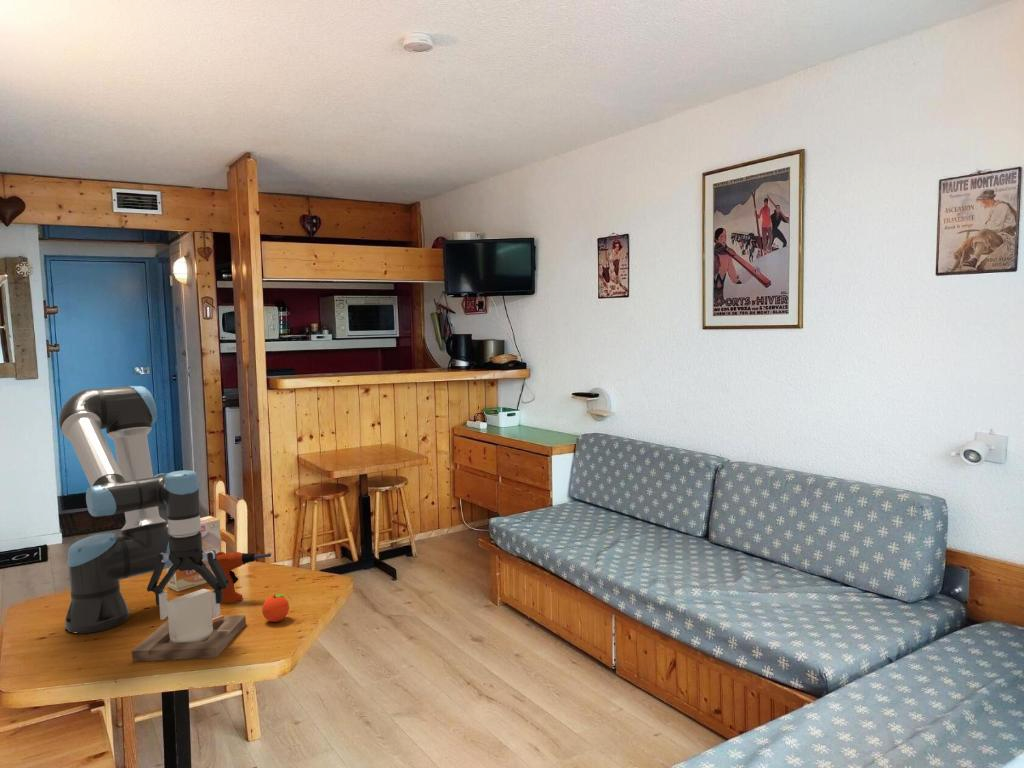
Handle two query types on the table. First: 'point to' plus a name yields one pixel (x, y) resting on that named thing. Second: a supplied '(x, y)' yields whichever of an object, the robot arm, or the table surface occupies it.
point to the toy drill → (229, 563)
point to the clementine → (275, 608)
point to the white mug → (191, 617)
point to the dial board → (162, 649)
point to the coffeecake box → (209, 543)
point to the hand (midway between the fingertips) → (190, 616)
